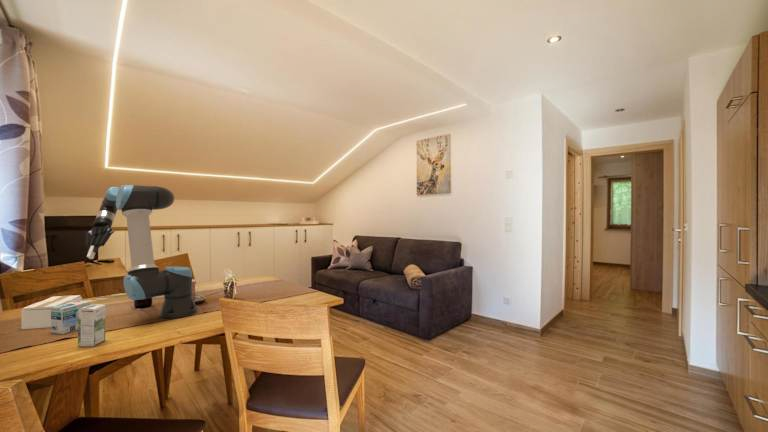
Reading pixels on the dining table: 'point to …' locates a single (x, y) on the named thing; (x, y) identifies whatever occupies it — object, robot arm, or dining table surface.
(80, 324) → the syrup box
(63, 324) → the light bulb box
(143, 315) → the dining table surface
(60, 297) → the flap
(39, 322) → the carton
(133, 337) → the dining table surface
